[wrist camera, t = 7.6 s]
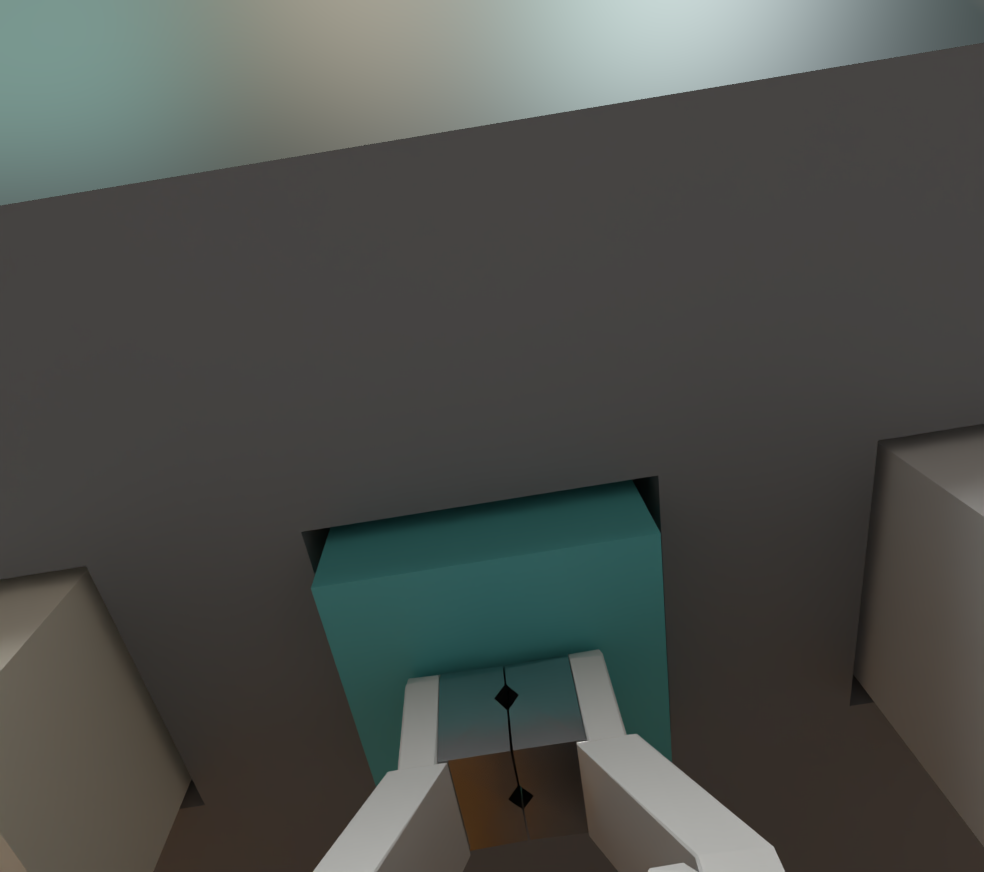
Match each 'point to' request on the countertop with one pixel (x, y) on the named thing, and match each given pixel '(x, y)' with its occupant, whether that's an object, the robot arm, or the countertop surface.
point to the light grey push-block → (929, 606)
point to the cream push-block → (78, 736)
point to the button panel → (513, 422)
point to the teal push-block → (497, 602)
